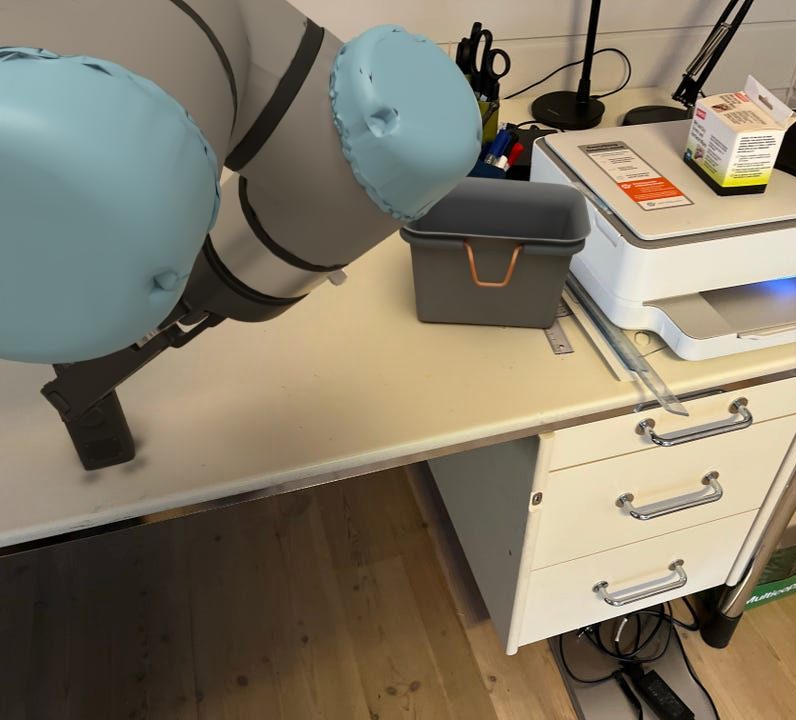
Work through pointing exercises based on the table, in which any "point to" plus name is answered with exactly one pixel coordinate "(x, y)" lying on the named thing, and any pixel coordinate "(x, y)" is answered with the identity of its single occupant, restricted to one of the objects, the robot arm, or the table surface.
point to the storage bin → (496, 252)
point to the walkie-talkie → (102, 435)
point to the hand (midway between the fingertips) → (141, 353)
